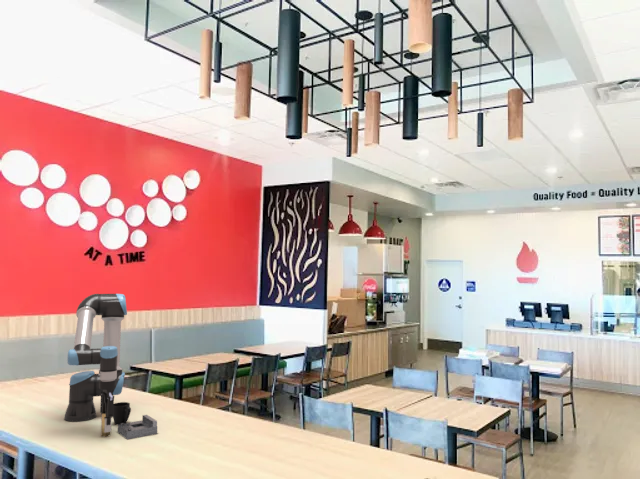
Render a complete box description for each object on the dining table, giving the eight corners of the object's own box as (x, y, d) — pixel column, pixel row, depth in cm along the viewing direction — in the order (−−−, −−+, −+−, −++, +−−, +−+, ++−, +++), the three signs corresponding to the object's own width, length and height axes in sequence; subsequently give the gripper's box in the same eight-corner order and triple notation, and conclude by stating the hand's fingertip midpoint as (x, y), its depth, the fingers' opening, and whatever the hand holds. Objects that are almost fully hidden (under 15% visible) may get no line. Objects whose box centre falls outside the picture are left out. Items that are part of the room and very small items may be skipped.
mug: (120, 428, 253) (121, 408, 254) (108, 423, 261) (109, 404, 262) (136, 424, 259) (136, 405, 260) (123, 420, 267) (124, 401, 268)
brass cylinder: (100, 435, 242) (100, 413, 243) (108, 433, 245) (109, 411, 245) (102, 437, 239) (103, 415, 240) (111, 435, 241) (112, 413, 242)
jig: (117, 431, 247) (118, 419, 247) (146, 426, 256) (147, 414, 256) (127, 439, 236) (127, 425, 236) (157, 433, 245) (157, 420, 245)
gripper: (94, 377, 248) (92, 427, 246) (105, 384, 234) (102, 436, 233) (110, 376, 253) (108, 424, 251) (121, 382, 239) (120, 433, 237)
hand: (105, 430), depth 242 cm, fingers open, 4 cm apart
